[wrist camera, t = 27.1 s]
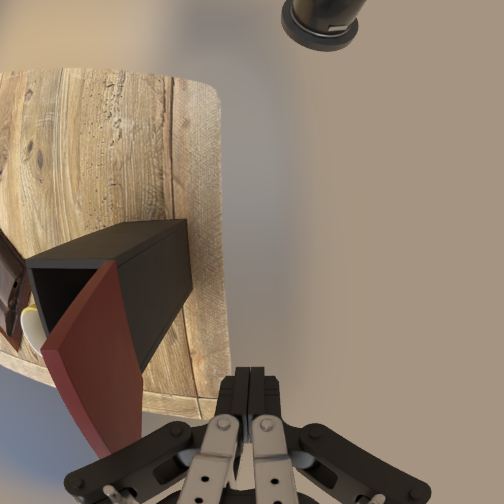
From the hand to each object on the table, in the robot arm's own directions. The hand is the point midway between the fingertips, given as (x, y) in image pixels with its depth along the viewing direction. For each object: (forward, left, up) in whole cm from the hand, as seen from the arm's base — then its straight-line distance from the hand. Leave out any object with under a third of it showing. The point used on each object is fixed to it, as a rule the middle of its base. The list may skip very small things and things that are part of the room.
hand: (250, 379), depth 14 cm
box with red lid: (+6, -14, -26) cm, 30 cm away
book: (+31, -51, -26) cm, 65 cm away
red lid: (+3, -8, +1) cm, 8 cm away
